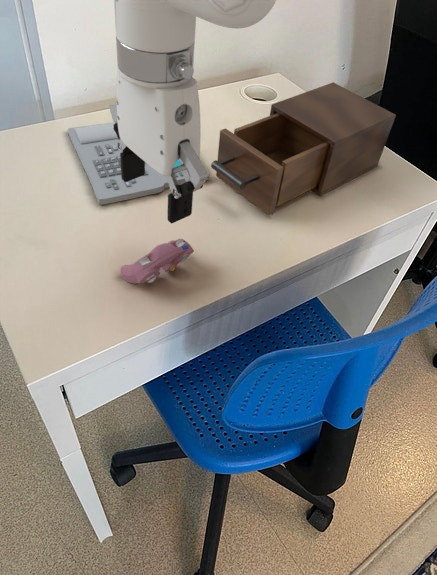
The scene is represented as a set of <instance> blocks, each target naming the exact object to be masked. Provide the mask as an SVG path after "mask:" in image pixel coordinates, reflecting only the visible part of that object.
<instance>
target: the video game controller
mask: <svg viewBox="0 0 437 575" xmlns="http://www.w3.org/2000/svg"><path fill="white" fill-rule="evenodd" d="M194 252H195V250H194V248H193V246H191V244H190V243H189V242H188V241H186V240H185V239H184V238H178V239H173V240H170V241H167V242H165V243H161V244H157V245H156V246H155V247H154V248H153V249H152V250H150V252H148V253H147V254H145V255H143V256H142V257H140V258H139V259H138V260H136V261H135V262H134V263H132V264H124V265H122V266H121V267H120V270H119V271H120V275H121V277H122V279H123V280H125V281H126V282H128V283H130V284H143V283H145V282H146V283H149V284H150V283H153V282H155V281H156V278H158V277H159V276H160V275H161V269H162V270H163V271H164V272H165V273H167V272H173V271H174V270H176V267H177V266H178V265H179V264H181V263H182V262H184V261H185V260H187V259H188V258H189V257H190V256H191V255H193V253H194Z"/></svg>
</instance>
